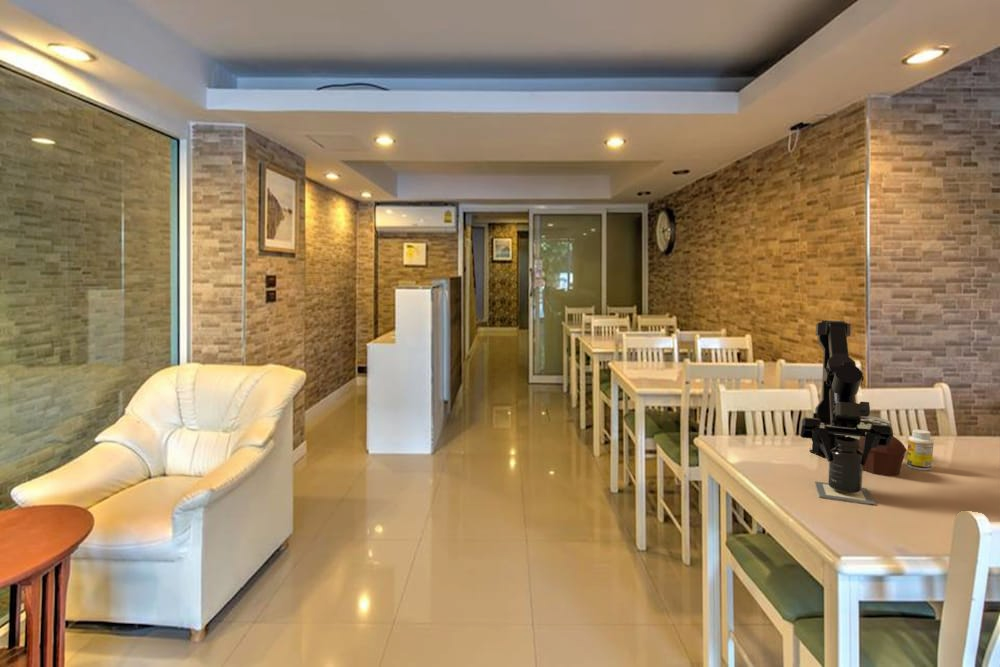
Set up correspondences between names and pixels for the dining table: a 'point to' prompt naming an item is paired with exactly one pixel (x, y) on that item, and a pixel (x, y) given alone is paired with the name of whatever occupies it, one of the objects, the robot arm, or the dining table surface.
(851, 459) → the supplement bottle
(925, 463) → the supplement bottle
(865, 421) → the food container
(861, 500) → the foundation tile
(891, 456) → the muffin
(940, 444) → the dining table surface
